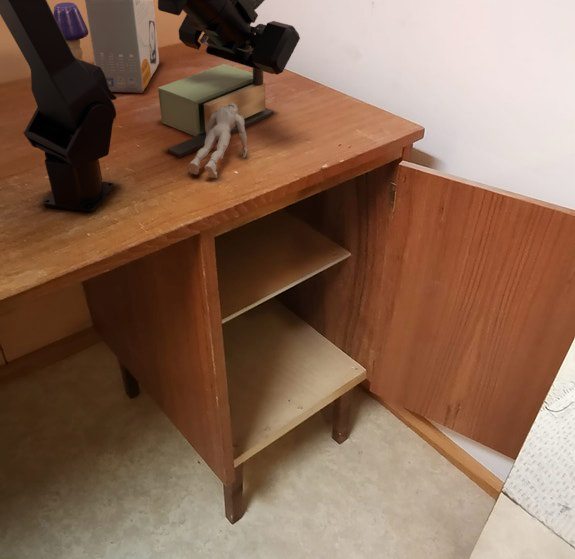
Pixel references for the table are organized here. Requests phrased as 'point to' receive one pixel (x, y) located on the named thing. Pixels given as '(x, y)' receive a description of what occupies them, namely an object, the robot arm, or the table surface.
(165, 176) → the table surface
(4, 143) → the table surface
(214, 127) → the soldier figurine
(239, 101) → the door
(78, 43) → the toy lamp
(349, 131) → the table surface
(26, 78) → the table surface
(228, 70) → the cabinet
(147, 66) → the hard drive box
